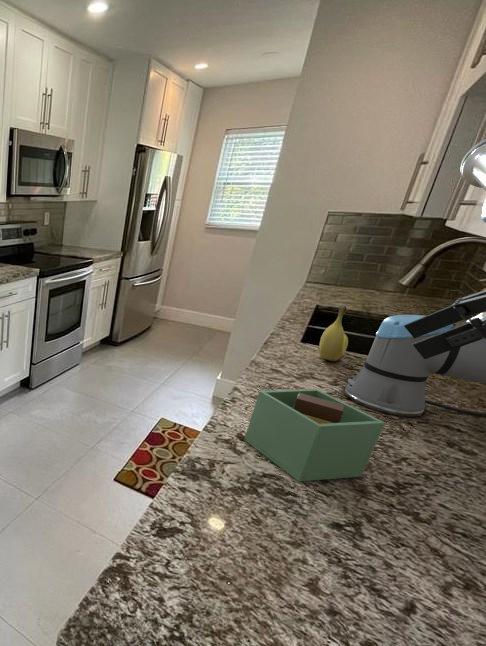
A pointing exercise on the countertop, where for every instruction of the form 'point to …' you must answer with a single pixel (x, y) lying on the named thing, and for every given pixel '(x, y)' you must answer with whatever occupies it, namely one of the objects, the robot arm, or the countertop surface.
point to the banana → (334, 339)
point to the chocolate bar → (319, 409)
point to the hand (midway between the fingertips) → (412, 341)
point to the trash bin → (311, 437)
